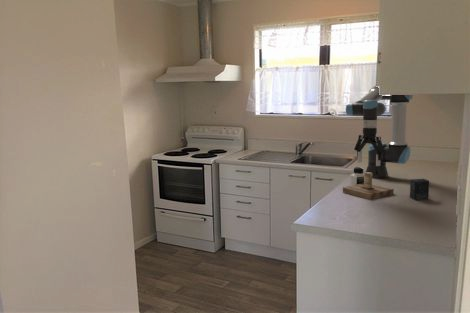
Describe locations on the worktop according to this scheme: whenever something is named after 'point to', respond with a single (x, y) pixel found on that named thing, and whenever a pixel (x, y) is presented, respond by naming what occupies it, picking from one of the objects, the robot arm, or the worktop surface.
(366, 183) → the peg
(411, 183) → the box
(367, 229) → the worktop surface
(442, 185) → the worktop surface
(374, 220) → the worktop surface
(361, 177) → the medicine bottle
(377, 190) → the board
